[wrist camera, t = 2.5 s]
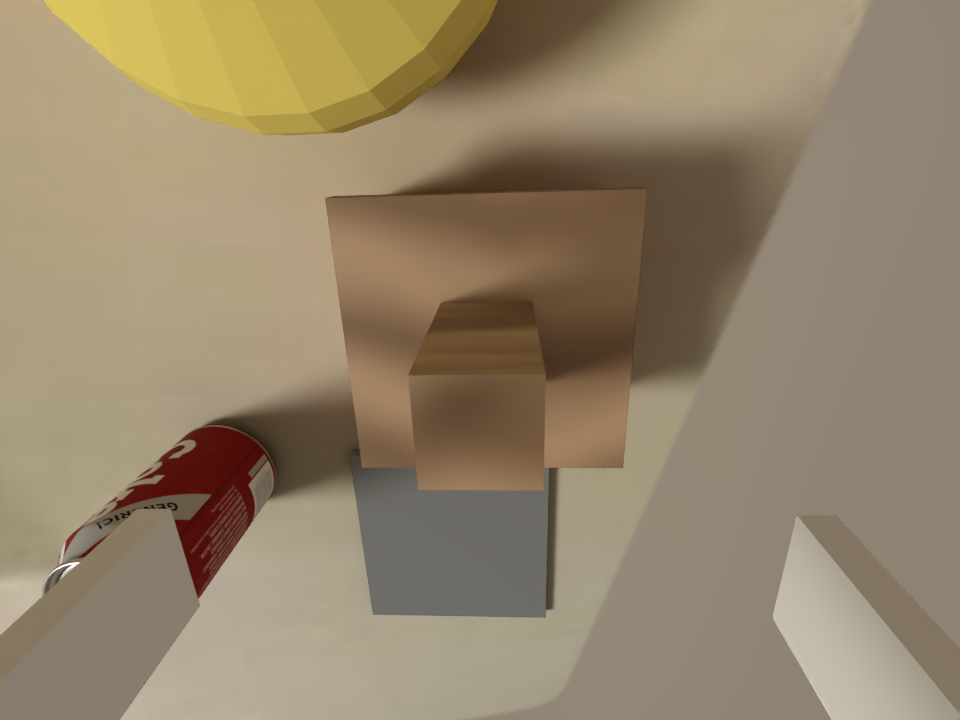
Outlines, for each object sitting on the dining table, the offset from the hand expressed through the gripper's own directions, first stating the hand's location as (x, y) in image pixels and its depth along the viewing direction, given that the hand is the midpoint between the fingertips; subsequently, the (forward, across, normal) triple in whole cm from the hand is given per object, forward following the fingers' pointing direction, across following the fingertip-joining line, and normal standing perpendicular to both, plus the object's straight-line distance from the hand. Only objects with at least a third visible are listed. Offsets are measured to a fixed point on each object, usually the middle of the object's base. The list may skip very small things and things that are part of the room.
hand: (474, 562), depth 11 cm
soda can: (+20, -18, -10) cm, 29 cm away
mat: (+20, -3, -16) cm, 26 cm away
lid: (+14, 0, 0) cm, 14 cm away
